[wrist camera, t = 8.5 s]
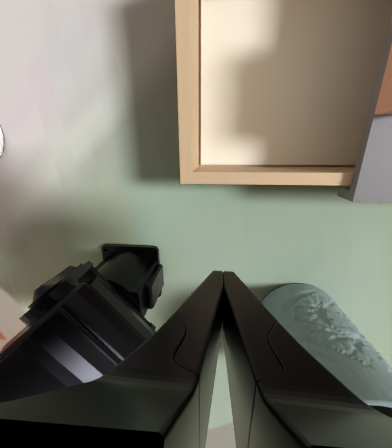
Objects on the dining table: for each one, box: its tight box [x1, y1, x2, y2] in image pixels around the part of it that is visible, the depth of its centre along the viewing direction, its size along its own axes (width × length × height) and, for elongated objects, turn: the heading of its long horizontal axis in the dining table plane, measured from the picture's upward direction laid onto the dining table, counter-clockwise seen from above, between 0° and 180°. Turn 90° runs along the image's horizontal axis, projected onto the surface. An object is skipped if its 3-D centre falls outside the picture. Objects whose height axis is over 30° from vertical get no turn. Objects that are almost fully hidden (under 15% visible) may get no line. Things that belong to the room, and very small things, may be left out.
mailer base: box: [175, 0, 392, 186], centre depth 14 cm, size 20×14×6 cm
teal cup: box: [262, 283, 392, 418], centre depth 19 cm, size 10×10×12 cm
